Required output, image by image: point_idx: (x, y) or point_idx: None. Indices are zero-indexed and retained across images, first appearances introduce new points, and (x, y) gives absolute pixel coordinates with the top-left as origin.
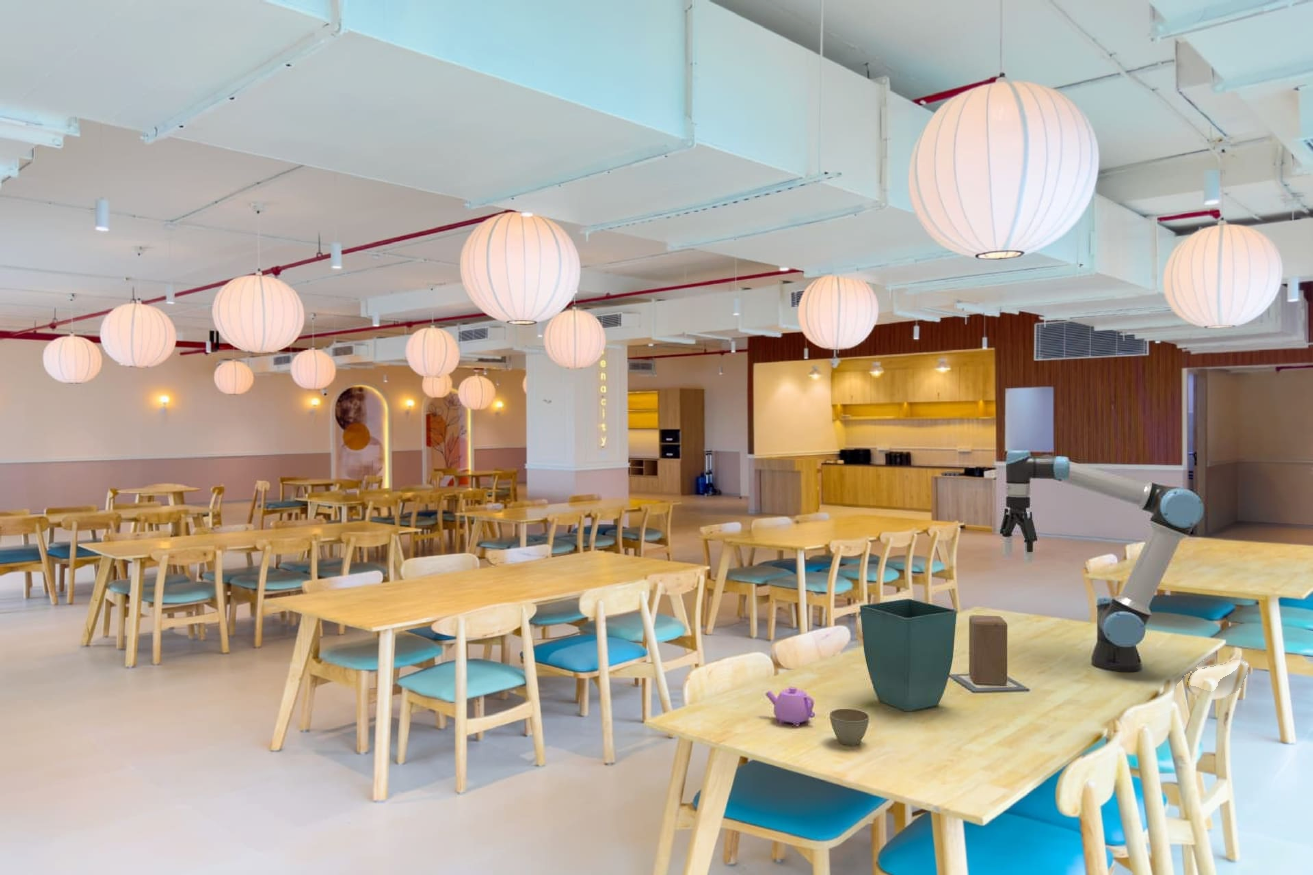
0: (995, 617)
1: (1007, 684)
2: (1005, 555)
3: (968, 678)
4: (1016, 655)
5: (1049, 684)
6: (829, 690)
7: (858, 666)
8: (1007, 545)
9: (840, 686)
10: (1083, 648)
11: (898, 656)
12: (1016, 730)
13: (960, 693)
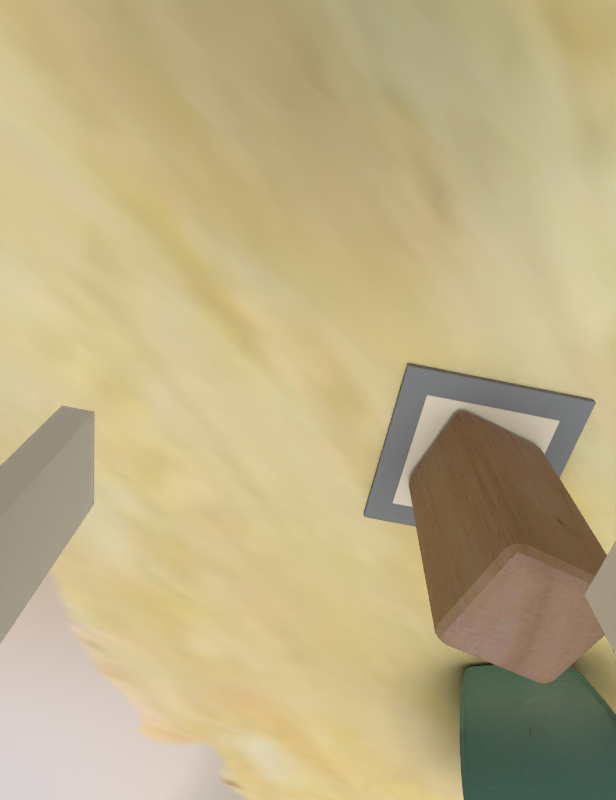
0: (539, 593)
1: (526, 433)
2: (89, 496)
3: None
4: (185, 107)
5: (573, 286)
6: (371, 758)
7: (210, 645)
8: (13, 579)
9: (353, 735)
10: None
11: None
12: None
13: None
